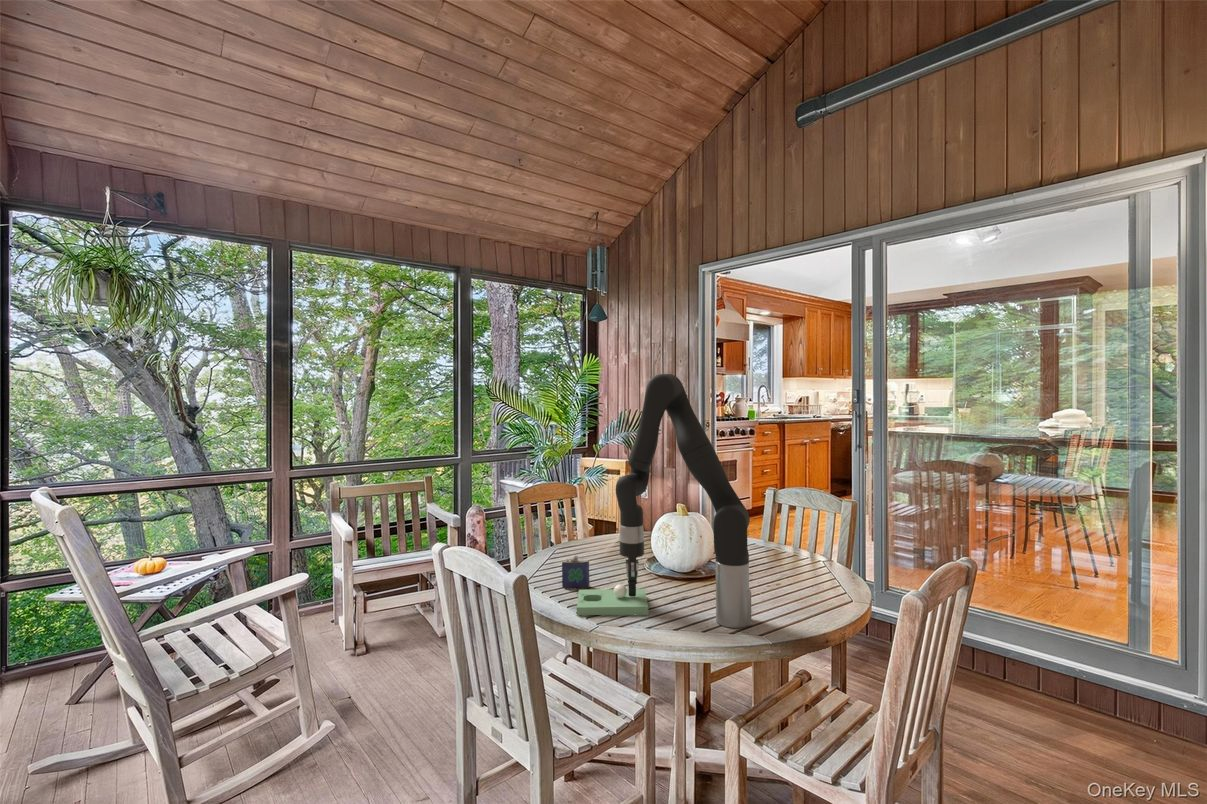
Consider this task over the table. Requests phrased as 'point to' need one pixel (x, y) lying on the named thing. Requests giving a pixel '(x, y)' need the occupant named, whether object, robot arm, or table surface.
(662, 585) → the table surface
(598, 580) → the table surface
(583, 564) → the flask
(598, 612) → the board
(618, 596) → the ball
